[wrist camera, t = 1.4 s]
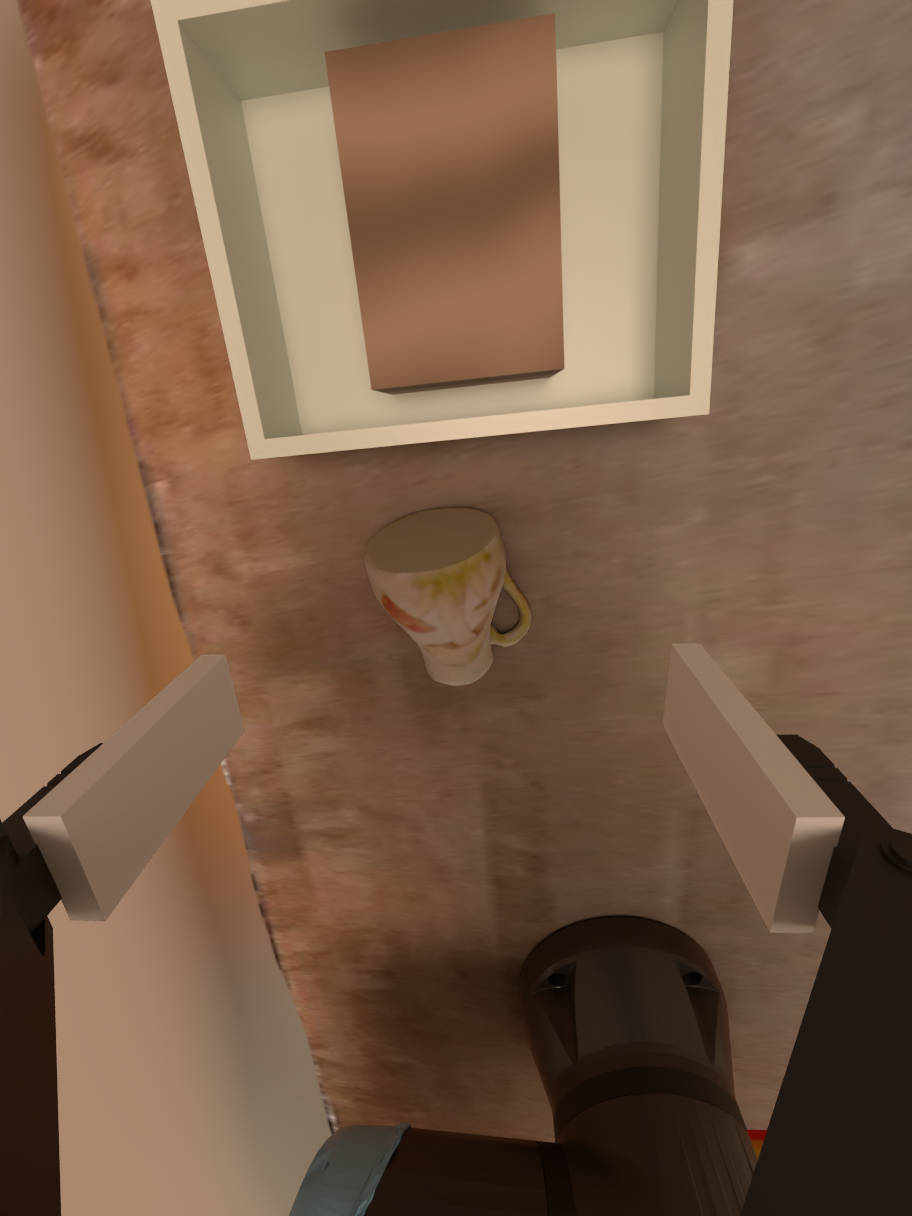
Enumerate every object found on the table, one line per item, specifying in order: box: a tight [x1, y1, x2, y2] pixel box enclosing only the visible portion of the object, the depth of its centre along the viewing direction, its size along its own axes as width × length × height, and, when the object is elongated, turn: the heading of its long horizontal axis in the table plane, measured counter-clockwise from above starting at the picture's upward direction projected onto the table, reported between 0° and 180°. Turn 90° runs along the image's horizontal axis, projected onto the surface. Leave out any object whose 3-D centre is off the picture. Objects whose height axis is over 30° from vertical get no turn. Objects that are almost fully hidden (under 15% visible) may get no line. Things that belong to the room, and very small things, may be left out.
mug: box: [364, 507, 532, 686], centre depth 29 cm, size 8×10×10 cm
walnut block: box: [324, 13, 564, 395], centre depth 22 cm, size 11×8×5 cm
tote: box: [151, 0, 733, 460], centre depth 23 cm, size 16×20×6 cm
